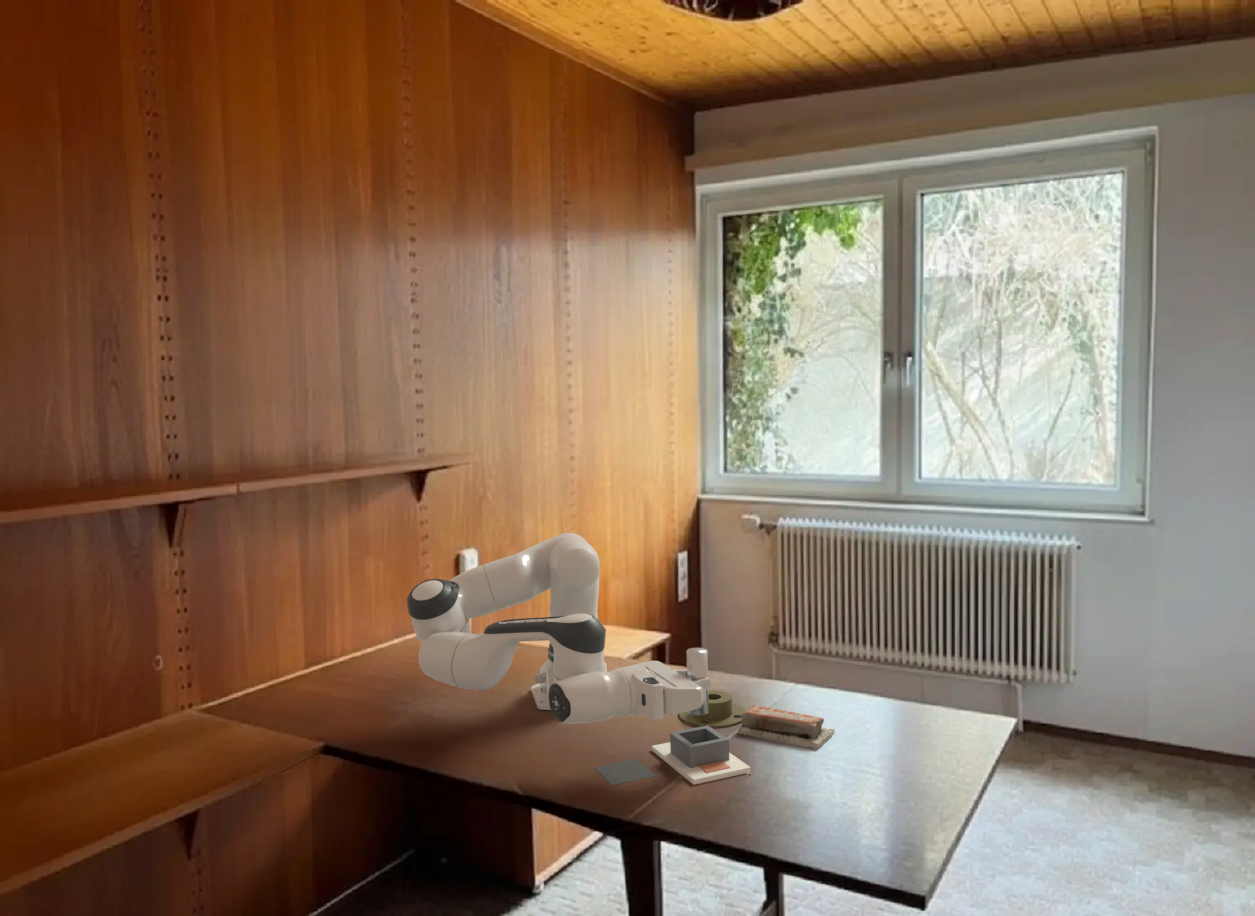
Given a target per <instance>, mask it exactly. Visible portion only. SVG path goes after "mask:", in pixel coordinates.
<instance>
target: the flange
mask: <svg viewBox="0 0 1255 916" xmlns="http://www.w3.org/2000/svg"><path fill="white" fill-rule="evenodd" d="M708 701H709V712H708V713H707V714H705V715H692V714H689V713H688V711H687V712H683V713H678V714H679V715H678V716H679V717H678V718H679V719H680V720H681V721H682V722H683V723H685V724H687V725H690V726H694V727H696V728H697V727H702V726H707V725H708V726H710V727H711V728H713V729H722V728H730V727H734V725H735V726H738V725H740V724H742V713H743V712H745V711H746V710H747V709H745V708H744V707H742V706H739V705H737V704H733V696H732V694H731V693H729V692H726V691H722V690H712V689H711V690H708ZM737 724H738V725H737Z"/></svg>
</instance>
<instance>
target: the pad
mask: <svg viewBox="0 0 1255 916" xmlns="http://www.w3.org/2000/svg"><path fill="white" fill-rule="evenodd" d="M593 769H594V771H596V772H598V773H599V775H600V776H601V777H602V778H603V779H605V780H604V781H607V783H608V784H609V785H610V786H611V787H613V786H617V785H622V784H626V783H630V782H635V781H639V780H644V779H645V780H646V779H650V778H654V777H656V776H657V775H656V774H655V773H653V772H652V771H651V770H650V769H649V767H646V765H645V764H643V763H642V762H641V761H639V759H637V758H634V759H630V760H629V759H628V760H624V761H620V762H615V763H610V764H609V763H608V764H603V765H599V766H594V767H593Z"/></svg>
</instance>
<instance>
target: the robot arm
mask: <svg viewBox="0 0 1255 916" xmlns="http://www.w3.org/2000/svg"><path fill="white" fill-rule="evenodd" d="M600 564H601V563H600V557H599V554H598V553H597V551H596V550H595V548H594V547H593V546H592V545H591V544H590V543H589V542H588V541H587V540H586V539H585V538H584V537H583V536H581V535H579V534H578V533H574V532H573V533H572V532H564V533H560V534H558V535H556V536H553V537H551V538H548V539H545V540H543V541H541V542H538V543H536V544H535V545H531V546H529V547H527V548H526V549H524V550H522V551H519V552H517V553H514V554H512V555H511V554H510V555H509V556H508V555H507V556H505V557H502V558H499V559H496V560H494V561H490V562H487V563H484V564H481V565H478V566H475V567H473V568H471V569H468V570H466V571H463V572H462V573H459V574H458V575H456V576H454V577H452V578H450V579H449V580H447V579H441V578H431V579H427V580H424V581H422V582H420V583H418V584H416V586H414V587H413V588H412V589H411V591H410V592H409V593H408V595H407V597H406V607H407V612H408V615H409V616H410V617H411V622H412V627H413V630H414V633H415V635H416V638H417V640H418V641H419V643H420V644H421V646H420V647H419V650H418V651H419V652H418V664H419V668H420V669H421V672H423V674H424V675H426V676H427V677H430V678H431V679H432V680H433V679H434V680H435V681H438V682H441V683H443V684H447V685H450V686H453V687H456V688H462V689H466V690H472V691H486V690H490V689H491V688H493V687H495V686H496V685H498V684H499V683H500V682H501V681H502V680H503V679H504V677H506V675H507V673H508V672H509V670H510V667H511V665H512V662H513V659H514V655H515V652H516V650H517V648H518V646H519V644H520V642H544V641H545V642H546V641H548V642H549V644H548V649H547V653H548V654H547V658H548V659H547V660H546V661H545V662H544V664H542V666H541V667H540V669H539V672H538V673H535V675H534V676H535V677H534V678H535V683H536V684H534V685H531V687H530V691H531V695H532V696H533V700H534V702H535V705H536V709H538V710H543V711H546V710H547V711H550V712H551V713H552V715H553V717H554V718H555V719H556V721H558V722H559V723H561V724H570V725H574V724H587V723H595V722H600V721H605V720H608V719H610V718H611V717H623V718H624V717H628V716H634V717H635V716H636V717H639V716H640V717H644V718H648V719H650V720H655V721H656V720H661V719H664V717H665V715H668V716H669V715H677V714H679V713H683V712H687V711H691V710H695V709H698V708H700V707H701V706H702V705H703V689H707V688H708V689H710V688H711V680H710V678H708V679H707V678H706V677H703V678H698V680H697V681H690V680H689V679H687V669H684V670H683V669H677V668H676V669H673V668H670V667H669V666H667V665H666V664H664V663H663V662H661V661H659V660H649V661H643V662H639V663H635V664H632V665H629V666H623V667H621V666H620V667H617V668H616V667H615V668H613V669H612V670H610V671H609V670H608V668H607V666H608V665H607V663H606V662H605V646H606V645H605V644H606V636H607V629H606V627H605V626H604V625H603V623H601V621H600V620H599V617H598V616H599V614H598V611H599V610H598V605H599V595H600V593H599V592H600V577H601V574H600V572H601V570H600V569H601V566H600ZM549 590H550V604H549V616H545V617H544V616H543V617H526V618H513V619H504V620H499V621H496V622H494V623H491V624H489V625H487V626H486V627H485V629H484V631H483V632H482V633H473V632H471V628H470V623H469V622H468V621H469V620H470V619H472V618H478V617H482V616H486V615H490V614H493V613H495V612H499V611H502V610H505V609H509V608H512V607H514V606H517V605H520V604H523V603H525V602H528V601H529V602H530V601H531V600H533V599H534V598H537V596H539V595H542V594H543V593H545V592H547V591H549Z"/></svg>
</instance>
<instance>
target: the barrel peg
mask: <svg viewBox="0 0 1255 916" xmlns="http://www.w3.org/2000/svg"><path fill="white" fill-rule="evenodd" d="M708 654H709V653H708V649H706V648H705V647H690V648H688V649H686V670H687V679H689V680H690V681H697V680H698V678H703V677H706V678H707V679H709V663H708V662H709V661H708V660H709V658H708ZM708 691H709V688H707V689H703V705H702V706H701V707H700V708H698V709H695V710H691V711H688V713H689V714H692V715H705V714H707V713H708V712H709V701H708Z"/></svg>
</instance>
